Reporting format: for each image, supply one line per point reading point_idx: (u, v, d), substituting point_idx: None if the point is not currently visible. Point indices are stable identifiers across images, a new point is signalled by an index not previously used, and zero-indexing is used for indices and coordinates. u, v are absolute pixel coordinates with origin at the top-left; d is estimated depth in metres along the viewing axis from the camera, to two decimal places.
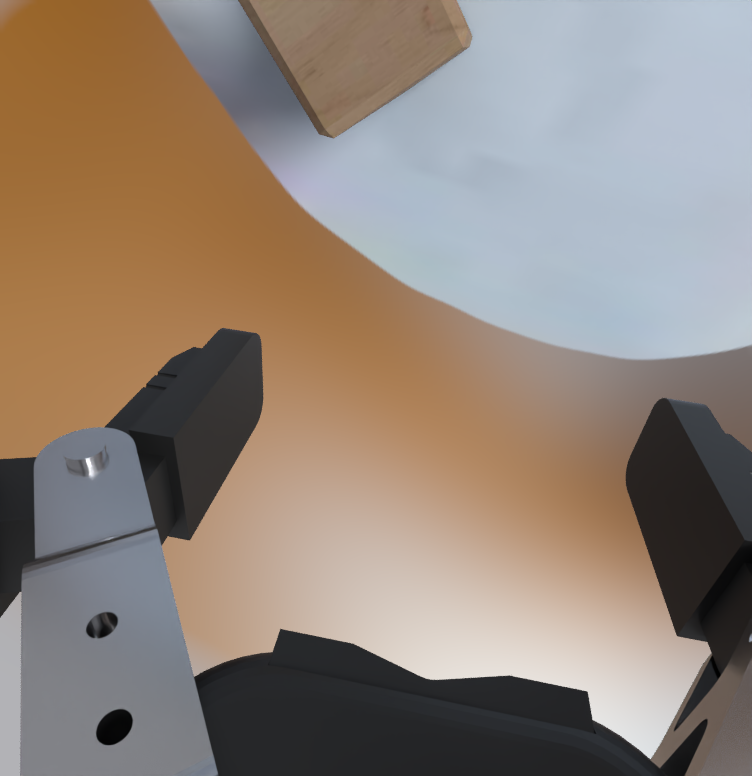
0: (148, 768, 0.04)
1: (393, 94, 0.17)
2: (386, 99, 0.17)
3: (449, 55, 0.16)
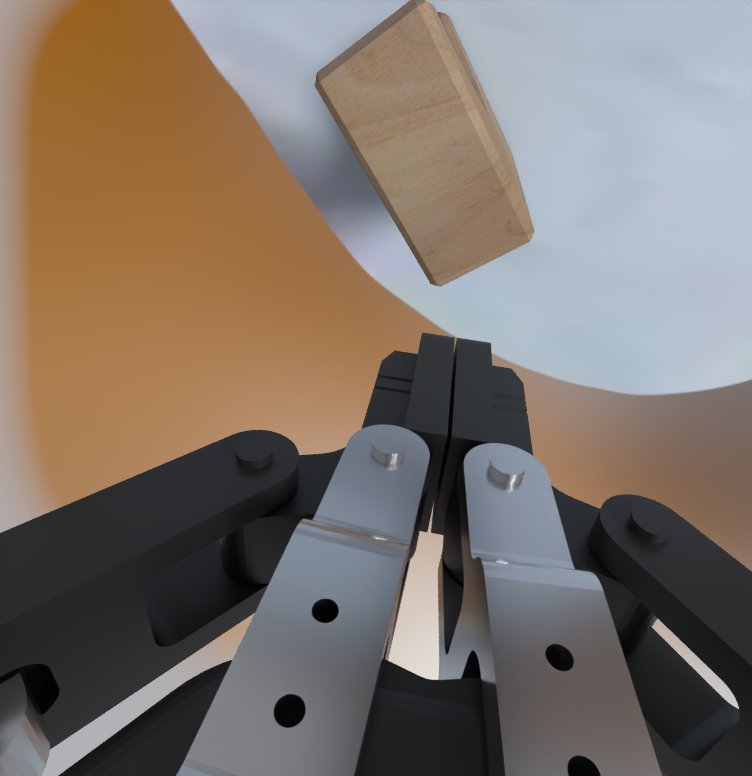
0: (293, 772, 0.04)
1: (483, 264, 0.26)
2: None
3: (521, 245, 0.25)
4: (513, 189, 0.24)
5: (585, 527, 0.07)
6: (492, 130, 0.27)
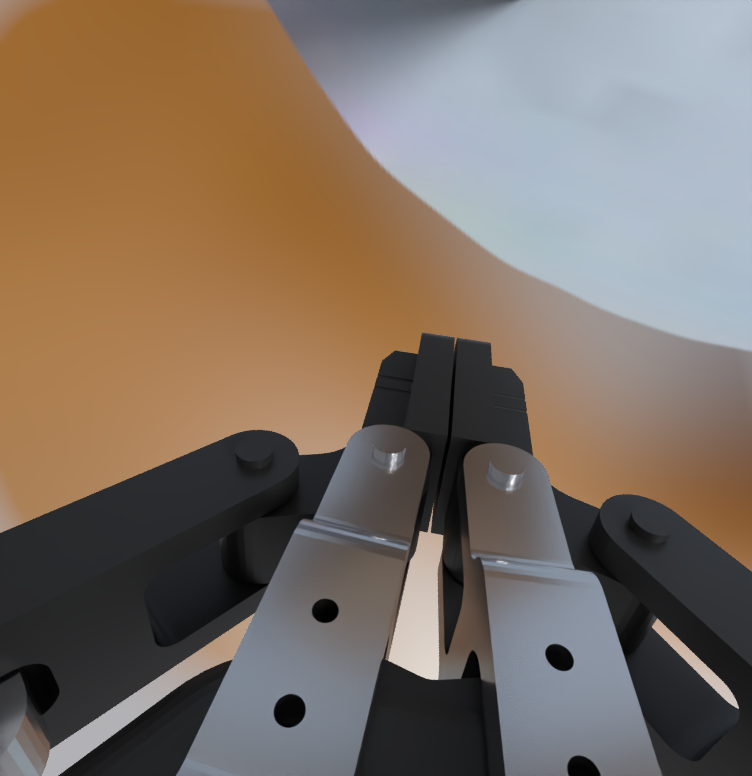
0: (292, 772, 0.04)
1: None
2: None
3: None
4: None
5: (585, 527, 0.07)
6: None
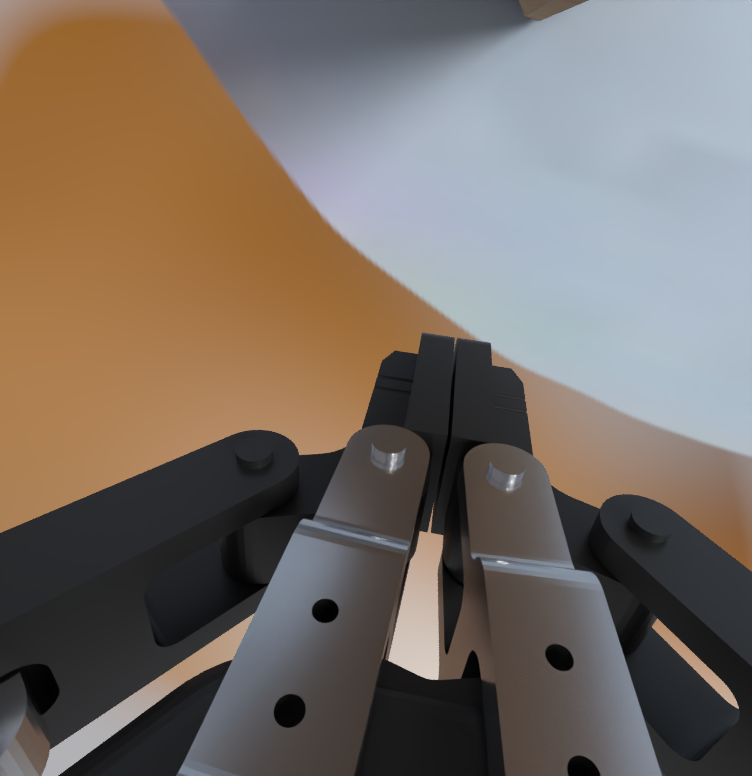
0: (293, 772, 0.04)
1: None
2: None
3: None
4: None
5: (585, 527, 0.07)
6: None
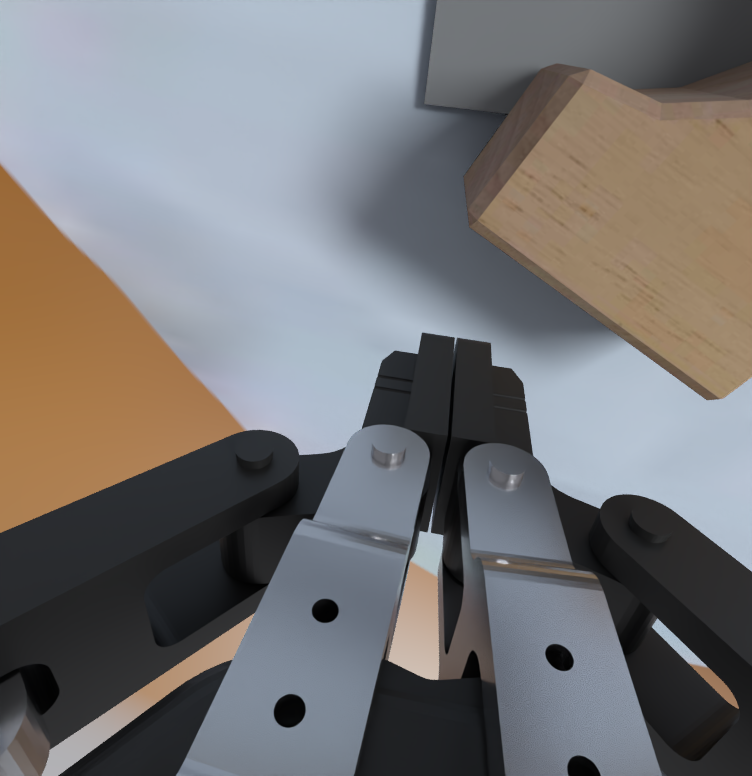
0: (292, 773, 0.04)
1: None
2: None
3: None
4: None
5: (585, 527, 0.07)
6: None
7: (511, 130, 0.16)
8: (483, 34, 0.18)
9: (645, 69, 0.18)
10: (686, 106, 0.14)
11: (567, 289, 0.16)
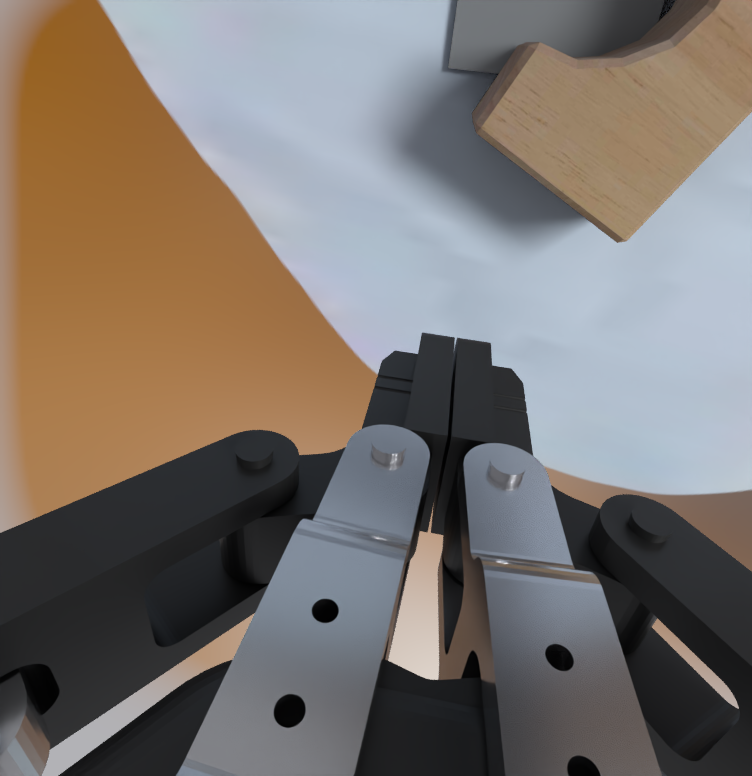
0: (292, 772, 0.04)
1: None
2: None
3: None
4: None
5: (585, 527, 0.07)
6: None
7: (500, 79, 0.29)
8: (484, 25, 0.30)
9: (579, 45, 0.30)
10: (590, 61, 0.26)
11: (532, 170, 0.29)
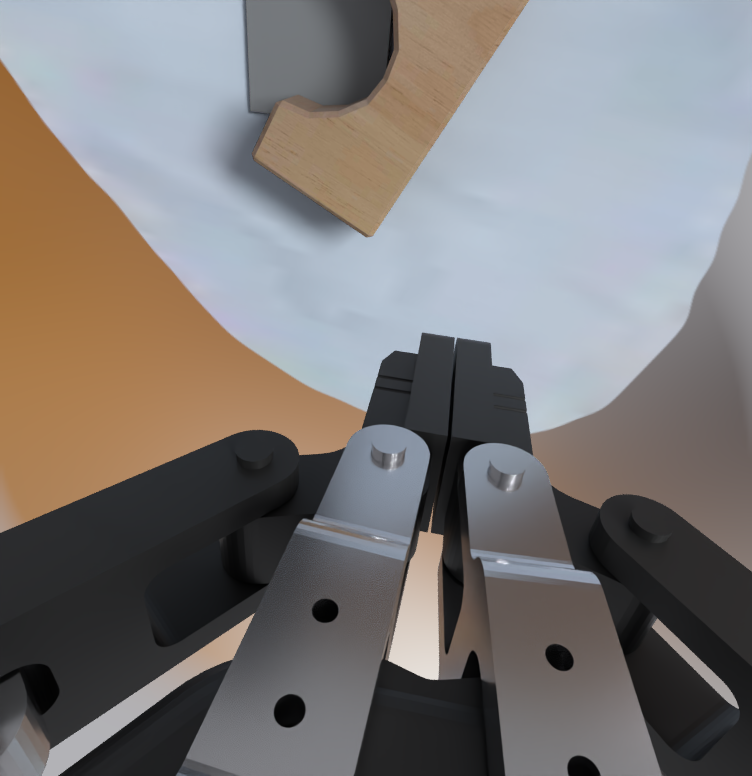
0: (293, 772, 0.04)
1: None
2: None
3: None
4: None
5: (585, 527, 0.07)
6: None
7: None
8: (269, 82, 0.42)
9: (336, 96, 0.42)
10: (317, 113, 0.38)
11: (295, 186, 0.41)
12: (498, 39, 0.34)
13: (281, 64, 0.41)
